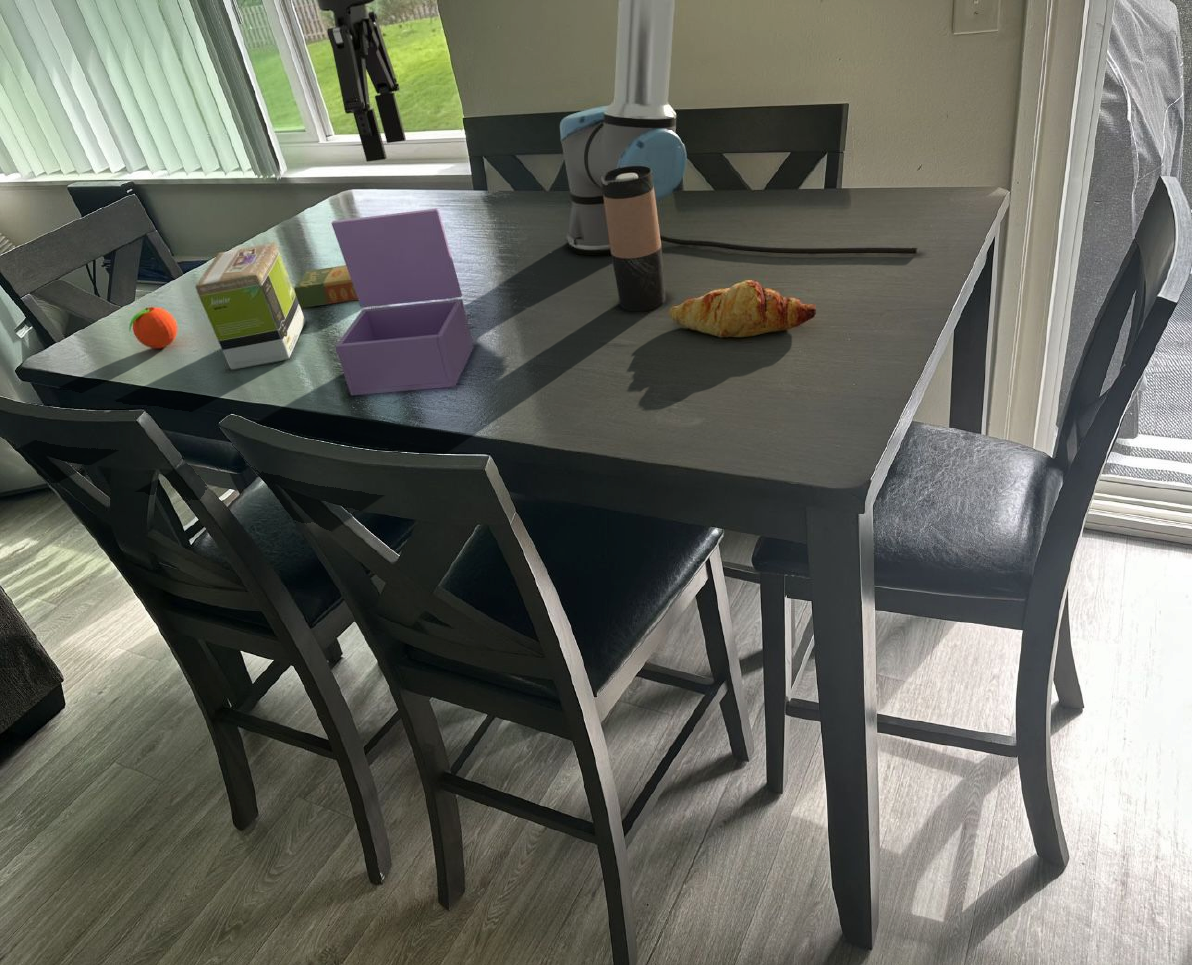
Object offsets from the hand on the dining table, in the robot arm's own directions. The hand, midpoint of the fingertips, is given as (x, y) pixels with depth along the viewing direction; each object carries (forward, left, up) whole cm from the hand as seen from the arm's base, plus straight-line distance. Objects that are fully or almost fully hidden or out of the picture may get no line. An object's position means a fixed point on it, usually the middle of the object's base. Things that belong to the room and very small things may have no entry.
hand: (386, 150), depth 133 cm
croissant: (-48, +8, -29) cm, 56 cm away
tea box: (+29, -1, -29) cm, 41 cm away
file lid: (0, +8, -14) cm, 16 cm away
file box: (0, +13, -28) cm, 31 cm away
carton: (+22, -21, -29) cm, 42 cm away
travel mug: (-33, -4, -29) cm, 44 cm away
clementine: (+51, -5, -29) cm, 59 cm away
